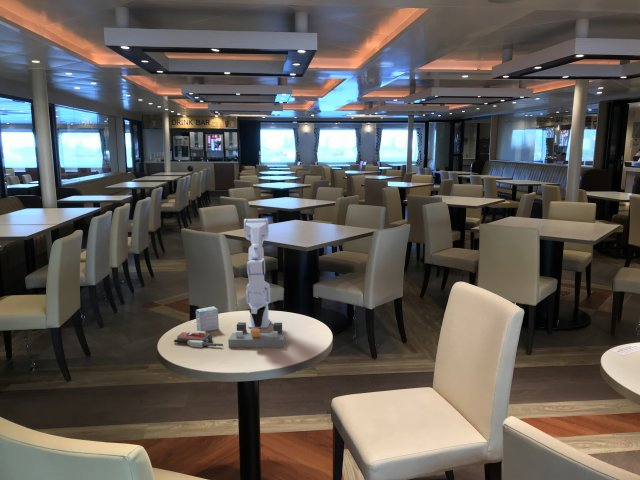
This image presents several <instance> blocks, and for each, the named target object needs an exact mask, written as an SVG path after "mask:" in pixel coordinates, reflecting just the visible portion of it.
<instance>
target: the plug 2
mask: <svg viewBox="0 0 640 480" xmlns="http://www.w3.org/2000/svg"><path fill="white" fill-rule="evenodd" d="M272 326H273V327H272V331H278V333H283V322H273V324H272Z"/></svg>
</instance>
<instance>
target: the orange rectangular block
mask: <svg viewBox="0 0 640 480" xmlns="http://www.w3.org/2000/svg"><path fill="white" fill-rule="evenodd" d="M250 333H251V335H252V338H261V333H262V332H261V330H260V328H250Z"/></svg>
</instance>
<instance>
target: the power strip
mask: <svg viewBox="0 0 640 480" xmlns="http://www.w3.org/2000/svg"><path fill="white" fill-rule="evenodd" d="M260 333H261V338H252V335H251V332H246V333H243V331H237V330H236V331H235V332H232V333H231V335H230V336H229V337H228V340H227V341H228V342H227V343H228V348H248V349H249V348H253V349H254V348H258V349H260V348H261V349H263V348H264V349H267V348H269V349H270V348H271V349H272V348H273V349H277V348H278V349H283V348H284V345H285V343H286V332H285V333H283V332H282V333H278V331H273V330H272V331H270V332H263V333H262V332H260Z"/></svg>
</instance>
